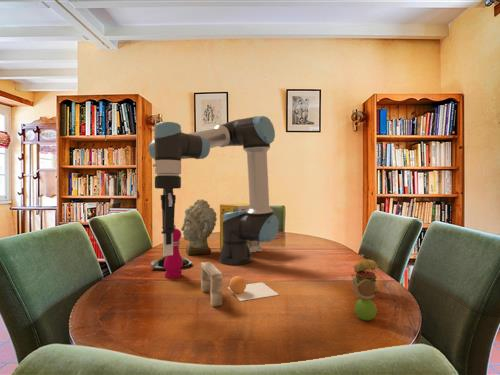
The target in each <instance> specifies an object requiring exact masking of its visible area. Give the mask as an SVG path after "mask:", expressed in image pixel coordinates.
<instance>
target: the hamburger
mask: <svg viewBox="0 0 500 375" xmlns="http://www.w3.org/2000/svg"><path fill="white" fill-rule="evenodd" d="M364 256H365V255H364V254H362V253H360V257H361V259H362V260H360V261H358V262H357V263H356V264H355V265H354V267H353V268H354V269H353V270H354V271H353V272H354V273H355V274H354V276H355V278H356V279H357V286H358V284H359V283H360V282H361V281H362V280H365V279H367V280H371V281H372V282H373V283H374V285H375V292H374V293H373V294H375V293H376V291H378V285H377V284H376V283H377V278H378V275H376V274H375V272H376V268H379V265H378V263H377V262H376V261H375V260H373V259H363V257H364Z"/></svg>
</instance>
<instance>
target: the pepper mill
mask: <svg viewBox="0 0 500 375" xmlns="http://www.w3.org/2000/svg"><path fill="white" fill-rule="evenodd" d="M176 227H177V226H176V225H175V224H174V232H173V255H167V256H166V259H165V261H164V268H165V269H166V270H167V271H164V277H165V278H167V279H179V278H180V277H182V274H183V273H182V272H183V271H182V269H181V268H182V266H183V261H182V258H183V257H182V256H181V254H180V247H179V246H180V245H181V243H180V242H181V241H180V239H181V238H182V232H181V229H178V228H176Z"/></svg>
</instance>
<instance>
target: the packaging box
mask: <svg viewBox="0 0 500 375" xmlns="http://www.w3.org/2000/svg"><path fill="white" fill-rule="evenodd" d="M249 208H250V203H228V204H227V203H226V204H225V203H223V204H219V250H220V251H221V249H222V246H223V215H224V214H225V213H229V212H238V211H247V210H248V209H249ZM248 246H249V249H250V252H254V253H257V252H256V251H259V252H261V250H262V251H263V242H260V241H253V240H248Z"/></svg>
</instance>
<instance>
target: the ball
mask: <svg viewBox="0 0 500 375" xmlns="http://www.w3.org/2000/svg"><path fill="white" fill-rule="evenodd" d="M246 284H247V282H246V280H245V278H244V277H242V276H241V275H236V276H233V277H232V278H231V279H230V280H229V283H228V287H230V290H231V291H232V292H233V293H235V294H240V293H242V292H243V291H244V290H245V288H246ZM230 290H229V291H230ZM231 291H230V292H231ZM232 292H231V293H232ZM233 293H232V294H233Z"/></svg>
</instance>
